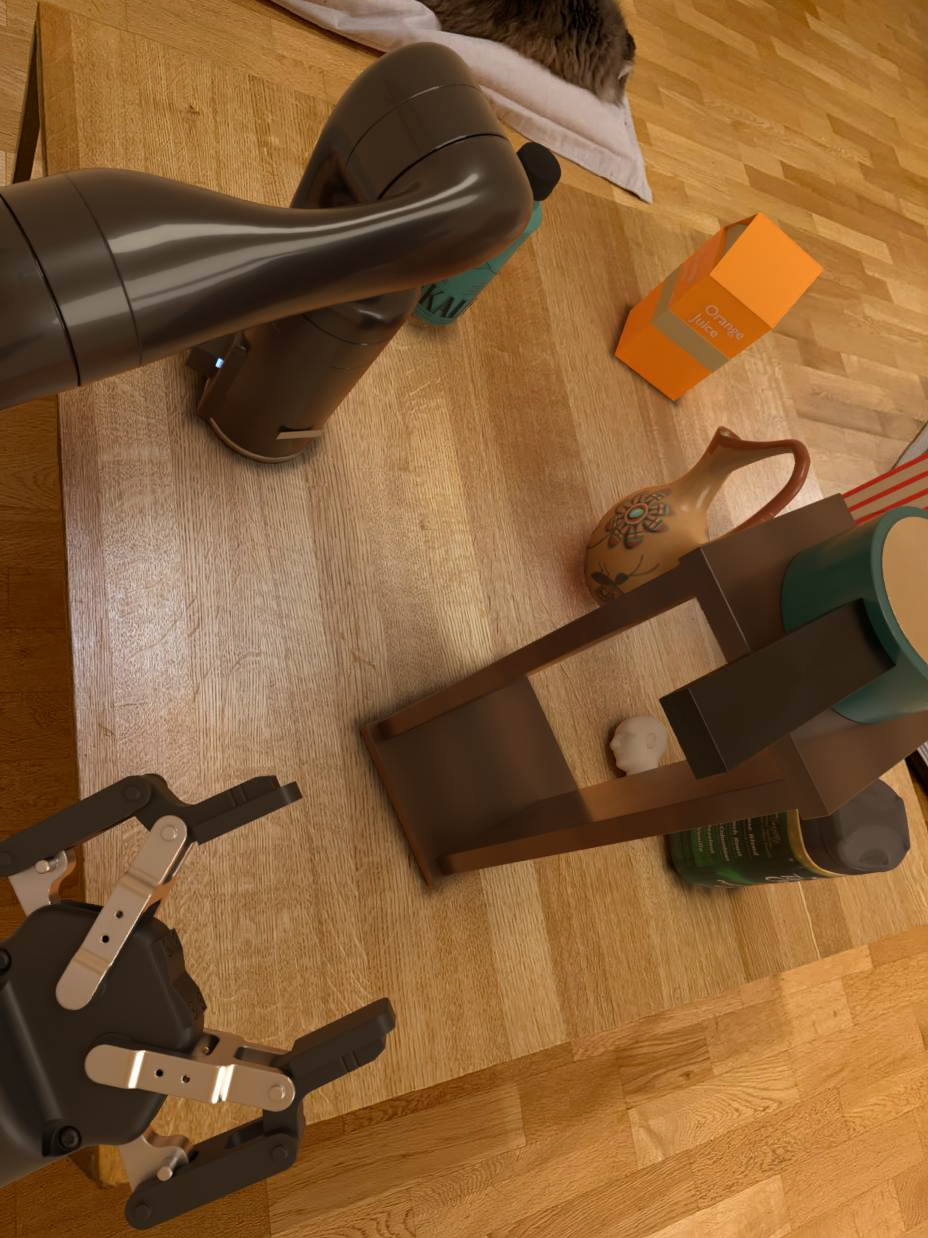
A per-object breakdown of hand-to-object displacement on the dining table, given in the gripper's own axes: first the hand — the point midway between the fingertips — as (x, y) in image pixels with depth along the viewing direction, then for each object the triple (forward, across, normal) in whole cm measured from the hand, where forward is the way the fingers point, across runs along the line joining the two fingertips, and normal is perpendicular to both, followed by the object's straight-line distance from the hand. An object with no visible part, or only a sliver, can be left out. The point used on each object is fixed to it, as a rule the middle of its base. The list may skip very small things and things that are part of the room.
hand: (343, 899), depth 34 cm
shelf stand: (+8, 0, +42) cm, 42 cm away
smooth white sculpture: (+21, -5, +49) cm, 54 cm away
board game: (+40, -2, +60) cm, 73 cm away
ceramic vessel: (+27, +11, +53) cm, 60 cm away
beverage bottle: (+22, +41, +50) cm, 68 cm away
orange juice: (+46, +32, +64) cm, 85 cm away
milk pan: (+21, 0, +6) cm, 22 cm away
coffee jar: (+25, -16, +52) cm, 59 cm away
